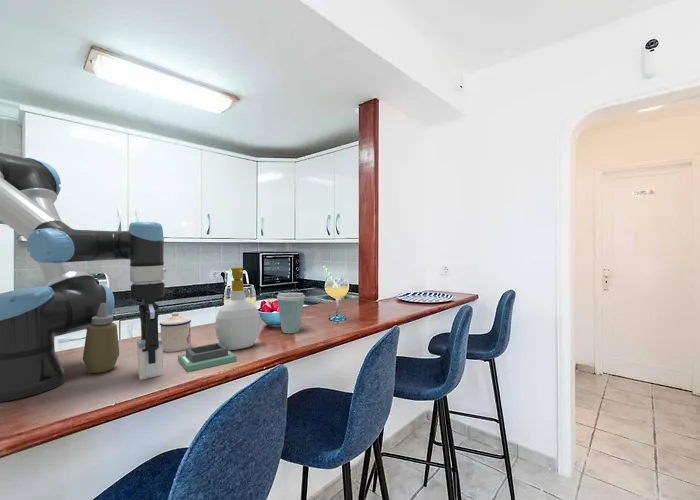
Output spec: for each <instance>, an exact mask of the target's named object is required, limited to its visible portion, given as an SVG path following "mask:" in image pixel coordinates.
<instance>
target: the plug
mask: <svg viewBox="0 0 700 500" xmlns="http://www.w3.org/2000/svg"><path fill="white" fill-rule="evenodd" d="M136 345H137V374H138V375H137V376H138V378H139V380H140V381H141V380H147V379H152V378H155V377H159V376H164V375H163V374H164V373H163V368H164V351H163V348H162V340H161V336H160V337H159V336H158V345H159V348H158V349H157V355H158V375H154V376H149V377H145V352H142V349H145V348H146V346H145V339H144V340H141V339H139V340H137V341H136Z"/></svg>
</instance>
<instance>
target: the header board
mask: <svg viewBox="0 0 700 500" xmlns="http://www.w3.org/2000/svg"><path fill="white" fill-rule="evenodd" d="M177 361H178V362H179V363H180V365H182V367H183V369H184V370H185V371H186V372H187V373H188V372H189V373H190V372H193V371H194V372H195V371H197V370H198V371H199V370H203V369H207V368H208V369H209V368H212V367H216V366H222V365H225V364H230V363H235V362H237V355H236V354H235V353H233V352H232V351H231V350H228V348H226V347H225V346H224V345H222V344H221V343H220V342H214V343H210V344H205V345H204V344H203V345H198V346H194V347H189V348H187V349H185V353H183V354H177Z"/></svg>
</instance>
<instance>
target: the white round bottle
mask: <svg viewBox="0 0 700 500" xmlns="http://www.w3.org/2000/svg"><path fill="white" fill-rule="evenodd" d="M231 275H232V279H233V280H231V290H230V300H228V301H227V302H225V304H224V303H223V305H222V306H221V307H220V309H218V312H217V315H216V317H215V323H214V324H215V327H214V328H215V334H216V338H217V339H218V343H221V344H222V345H224V346H225V347H226V348H228V350H229V351H237V350H243V349H248V348H250V347H252V346H253V345H255V343H256V340H257V337H258V335H259V332H260V328H261V318H260V316H261V315H260V312H259V309H258V307H257V306H256V305H255V304H254V303H252V302H251V301H249V300H247V299H245V289H244V280H242V278H243V275H244V267H239V266H238V267H237V266H236V267H232V268H231Z"/></svg>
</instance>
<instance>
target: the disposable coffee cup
mask: <svg viewBox="0 0 700 500" xmlns="http://www.w3.org/2000/svg"><path fill="white" fill-rule="evenodd" d="M305 298H306V295H305V294H304V293H303V292H281V293H278V294H277V296H276V300H277V308H278V315H279V322H280V328H281V329H280V330H281V332H283V334H296V333H298V332H300V329H301V323H302V317H303V309H304V304H305V303H304V302H305Z"/></svg>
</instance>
